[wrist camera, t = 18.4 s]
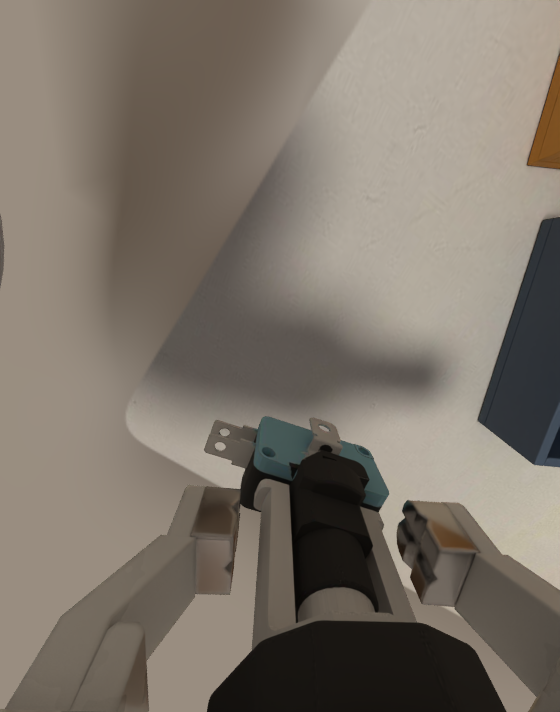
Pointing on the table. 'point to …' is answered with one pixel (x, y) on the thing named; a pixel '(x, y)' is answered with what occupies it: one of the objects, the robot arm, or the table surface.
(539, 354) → the blue bin
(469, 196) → the table surface
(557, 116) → the ochre bin
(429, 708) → the push button
